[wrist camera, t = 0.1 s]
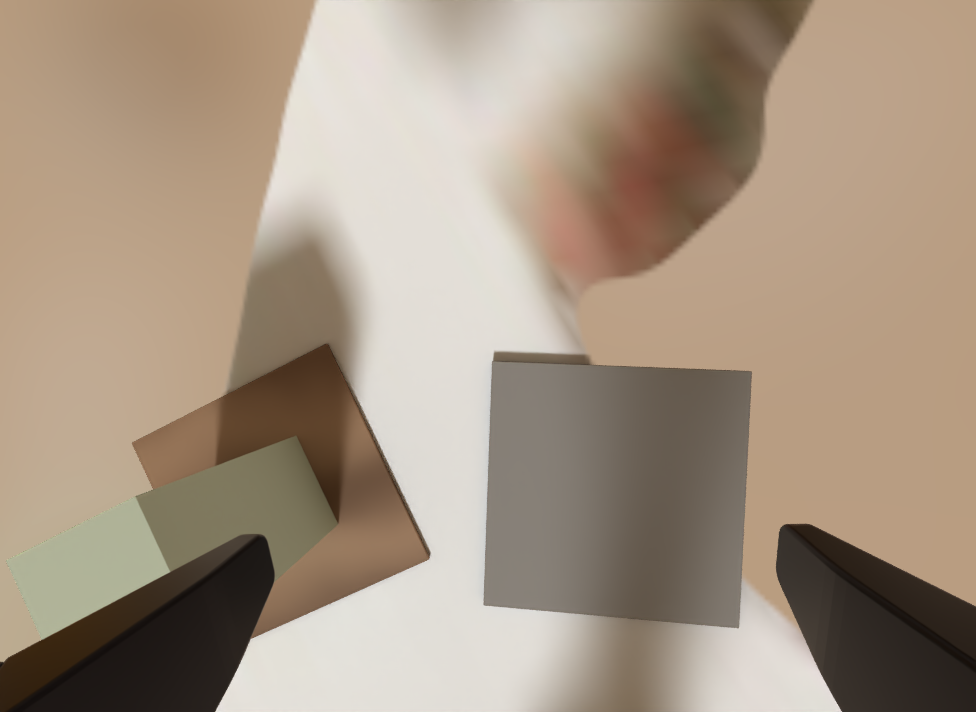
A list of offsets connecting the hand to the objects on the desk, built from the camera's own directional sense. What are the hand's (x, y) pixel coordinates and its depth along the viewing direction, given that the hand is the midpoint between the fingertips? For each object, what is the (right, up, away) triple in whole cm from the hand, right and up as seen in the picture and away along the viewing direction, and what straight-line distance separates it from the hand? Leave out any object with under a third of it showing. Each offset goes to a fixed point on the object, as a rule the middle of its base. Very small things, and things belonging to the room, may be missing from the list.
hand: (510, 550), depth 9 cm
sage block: (-11, -4, +17) cm, 20 cm away
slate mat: (+6, -3, +15) cm, 16 cm away
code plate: (-11, -4, +17) cm, 21 cm away
